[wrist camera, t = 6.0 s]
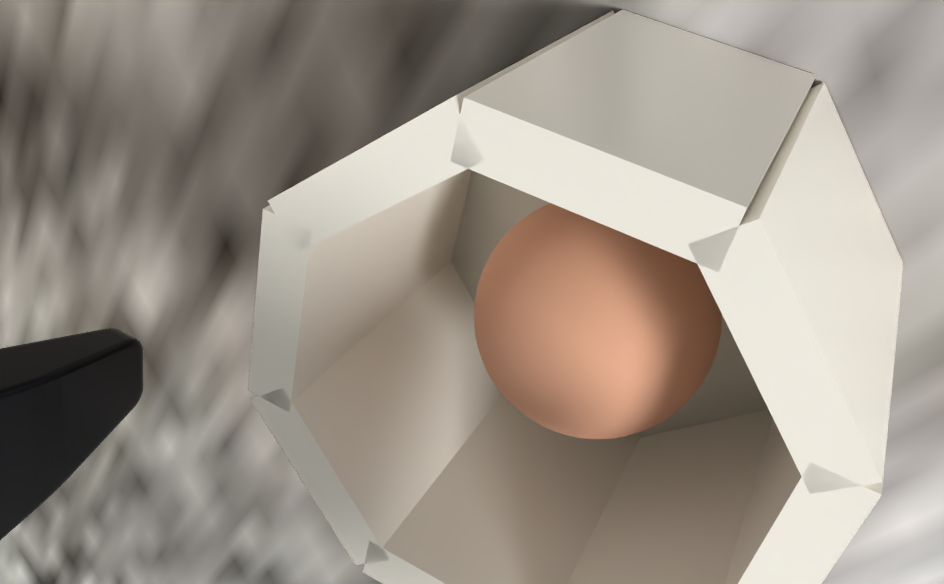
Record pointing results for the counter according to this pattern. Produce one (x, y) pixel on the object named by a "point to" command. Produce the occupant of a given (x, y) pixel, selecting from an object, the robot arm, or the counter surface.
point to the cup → (638, 215)
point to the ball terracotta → (592, 326)
